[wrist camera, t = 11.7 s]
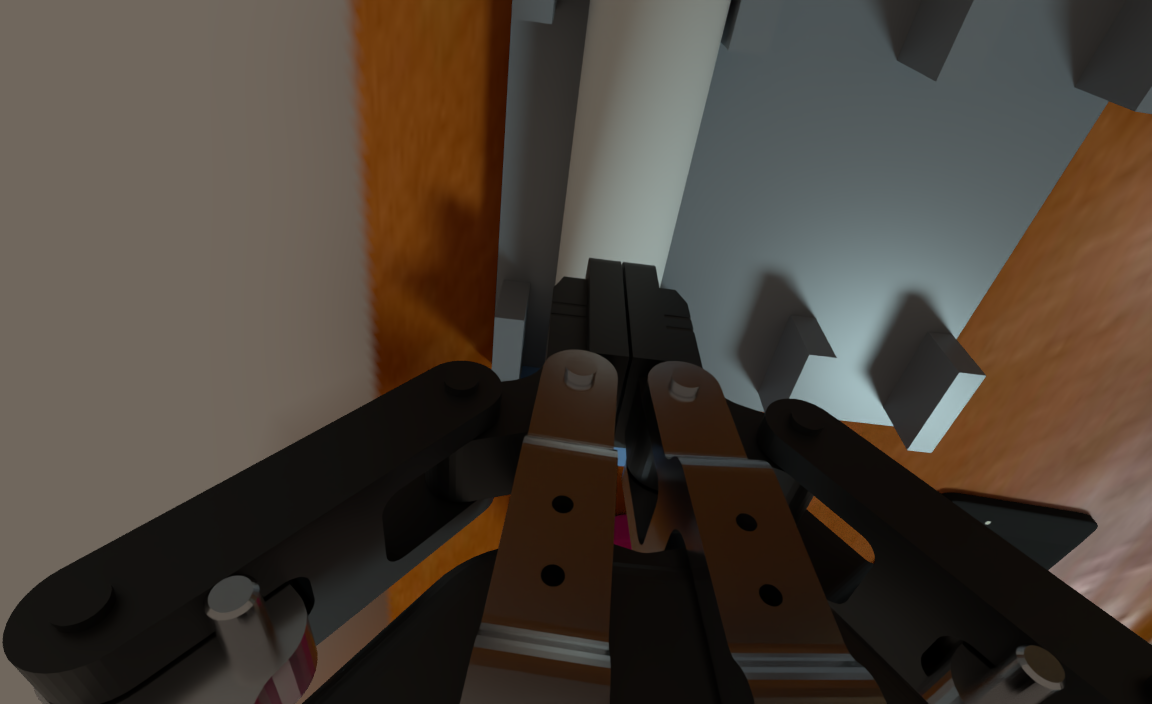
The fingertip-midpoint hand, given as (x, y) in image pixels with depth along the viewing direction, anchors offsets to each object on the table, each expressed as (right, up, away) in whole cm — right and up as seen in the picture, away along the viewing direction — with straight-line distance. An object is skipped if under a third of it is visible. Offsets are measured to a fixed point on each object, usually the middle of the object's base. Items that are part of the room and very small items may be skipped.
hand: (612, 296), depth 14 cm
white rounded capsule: (0, +5, +6) cm, 8 cm away
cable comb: (+6, +5, +7) cm, 10 cm away
